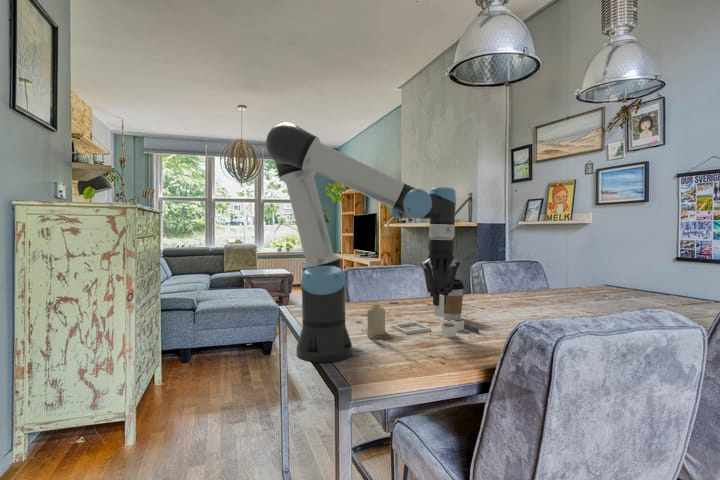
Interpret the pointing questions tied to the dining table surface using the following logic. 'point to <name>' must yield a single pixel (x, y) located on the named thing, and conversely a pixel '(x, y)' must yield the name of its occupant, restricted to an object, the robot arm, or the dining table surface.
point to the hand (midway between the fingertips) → (438, 316)
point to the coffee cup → (454, 301)
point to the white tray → (427, 328)
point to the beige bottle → (375, 321)
